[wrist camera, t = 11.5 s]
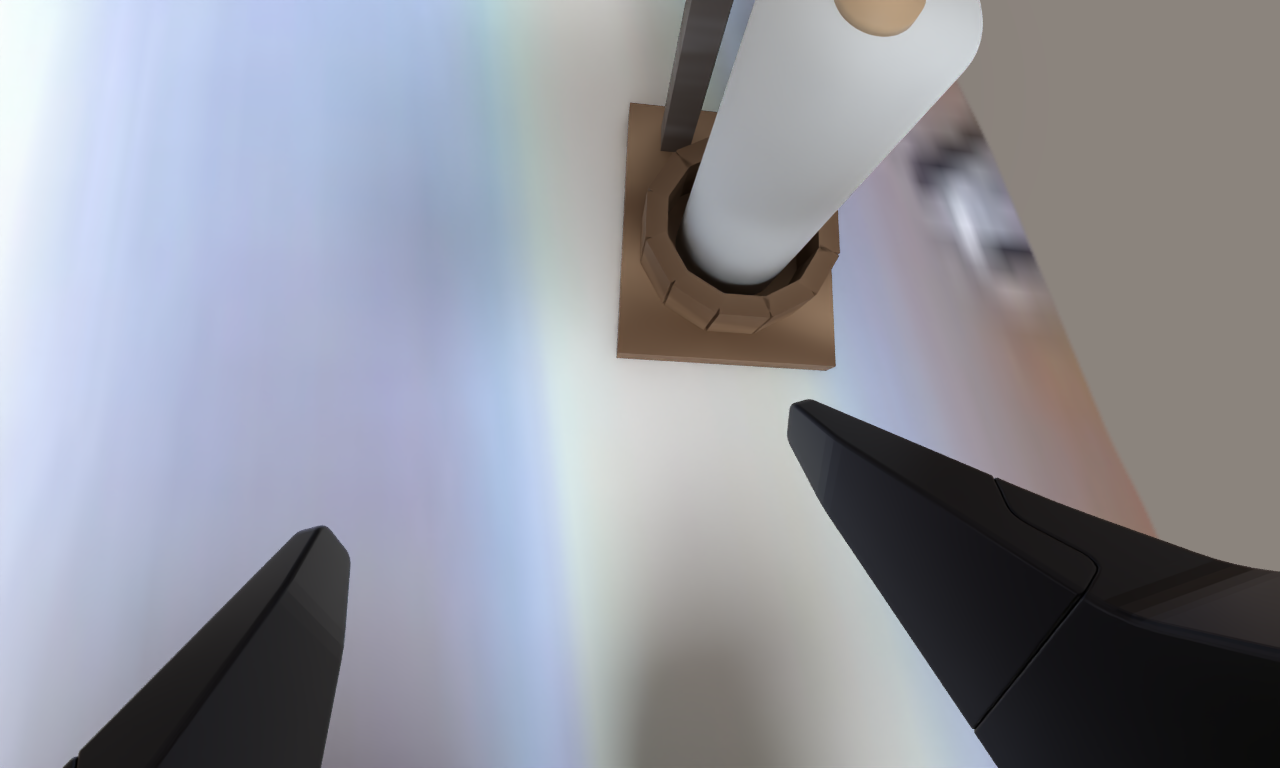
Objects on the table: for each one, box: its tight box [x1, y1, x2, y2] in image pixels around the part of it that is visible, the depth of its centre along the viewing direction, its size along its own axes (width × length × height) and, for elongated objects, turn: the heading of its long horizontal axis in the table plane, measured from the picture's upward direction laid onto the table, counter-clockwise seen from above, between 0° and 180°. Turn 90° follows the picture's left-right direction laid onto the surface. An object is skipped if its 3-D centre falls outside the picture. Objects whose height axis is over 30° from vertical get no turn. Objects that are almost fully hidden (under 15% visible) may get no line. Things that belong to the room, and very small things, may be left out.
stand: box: [617, 0, 840, 371], centre depth 18 cm, size 14×11×14 cm
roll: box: [676, 0, 983, 295], centre depth 18 cm, size 6×6×13 cm
